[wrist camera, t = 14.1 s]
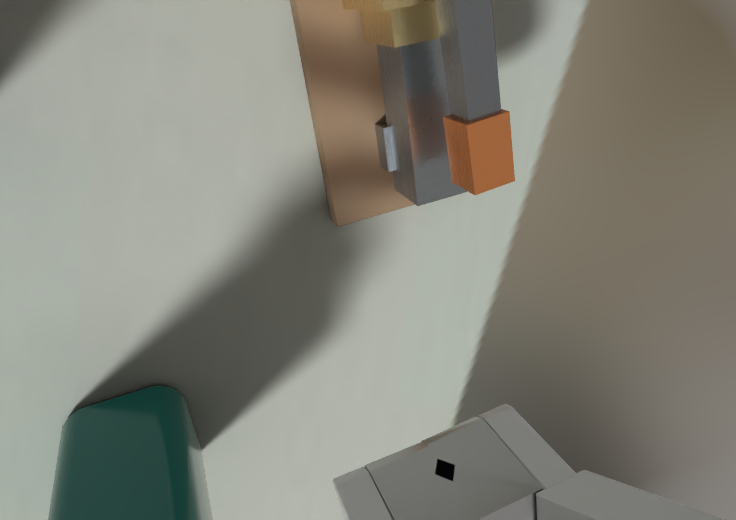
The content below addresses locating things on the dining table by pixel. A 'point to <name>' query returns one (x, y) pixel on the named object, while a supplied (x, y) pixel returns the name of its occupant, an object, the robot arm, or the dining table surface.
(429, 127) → the valve pipe
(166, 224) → the dining table surface
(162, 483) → the green bottle
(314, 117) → the base board
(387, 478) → the robot arm
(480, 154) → the valve lever
